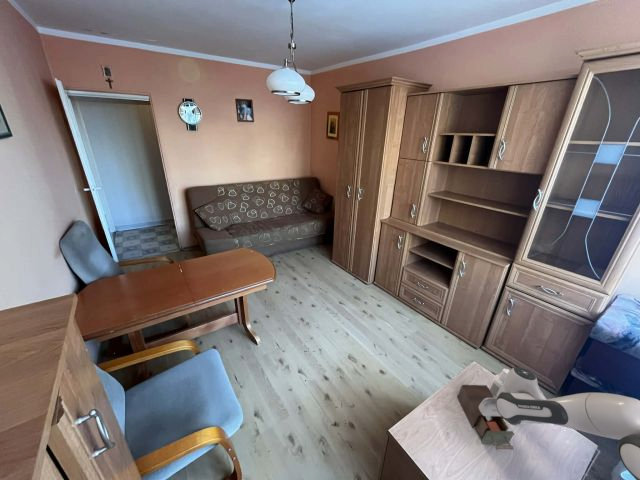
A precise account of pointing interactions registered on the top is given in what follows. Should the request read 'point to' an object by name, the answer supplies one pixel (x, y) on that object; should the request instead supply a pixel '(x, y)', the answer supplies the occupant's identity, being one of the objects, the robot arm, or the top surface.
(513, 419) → the robot arm
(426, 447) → the top surface
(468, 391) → the cabinet
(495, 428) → the block
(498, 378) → the spray bottle
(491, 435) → the drawer
